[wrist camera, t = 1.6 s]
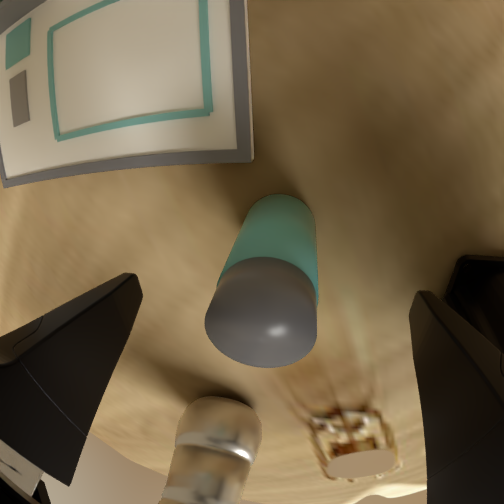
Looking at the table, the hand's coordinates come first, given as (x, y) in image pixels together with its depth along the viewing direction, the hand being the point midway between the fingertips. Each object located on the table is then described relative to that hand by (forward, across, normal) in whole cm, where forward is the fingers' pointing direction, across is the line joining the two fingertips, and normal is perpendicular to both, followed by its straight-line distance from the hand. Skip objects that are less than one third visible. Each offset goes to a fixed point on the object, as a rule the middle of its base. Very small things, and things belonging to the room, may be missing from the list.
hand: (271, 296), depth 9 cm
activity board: (+4, +9, -11) cm, 15 cm away
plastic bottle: (+5, +4, +16) cm, 17 cm away
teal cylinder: (+5, 0, 0) cm, 5 cm away
